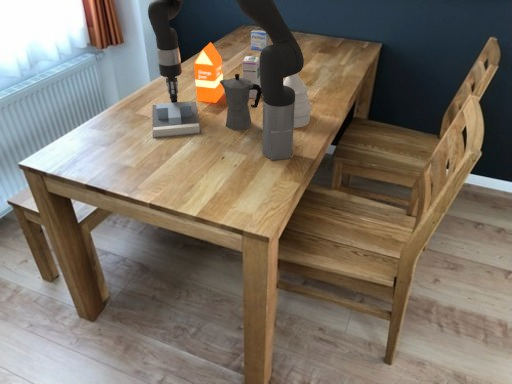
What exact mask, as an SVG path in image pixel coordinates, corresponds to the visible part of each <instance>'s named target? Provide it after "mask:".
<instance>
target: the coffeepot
mask: <svg viewBox="0 0 512 384" xmlns="http://www.w3.org/2000/svg"><path fill="white" fill-rule="evenodd" d="M219 82H220V83H221V84H222V86H223V91H224V94H225V99H226V104H227V111H226V112H227V114H226V121H225V122H226V123H225V127H226V128H228V129H230V130H233V131H243V130H247V129H249V128H250V127H252V117H251V113H250V107H251V108H252V109H257V108H258V105H259V103H260V100H261V97H262V96H263V94H262V91H261V85H260V86H259V85H258V84H254V83H251V81H250V80H247V79H245V78H243V77H240V73H234V77H232V78H228V79H224V78H223V80H221V81H219ZM250 90H257V94H256V98H254V103H253V104H250V107H249V100H250V98H249V93H250Z"/></svg>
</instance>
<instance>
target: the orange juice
mask: <svg viewBox="0 0 512 384" xmlns="http://www.w3.org/2000/svg"><path fill="white" fill-rule="evenodd" d="M222 61H223V58H222V57H221V55H220V53H219V52H218V50H217V49H216V48H215V46H214V44H213V43H212V42H209V43H208V44H207V45H206V46H204V47H203V49H202V50H201V51H200V53H199V55H198V56H197V58H196V59H195V61H194V63H193V64H194V65H193V66H194V68H193V69H194V76H195V77H194V79H195V80H194V82H195V89H196V100H197V101H198V102H205V103H214V104H216V103H217V102H218V101H219V100H220V99H221V98H222V96H223V95H224V88H223V86H222V84H221V83H220V82H219V81H221V80H224V77H223V62H222Z"/></svg>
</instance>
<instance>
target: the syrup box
mask: <svg viewBox="0 0 512 384" xmlns="http://www.w3.org/2000/svg"><path fill="white" fill-rule="evenodd" d="M259 61H260V56H256V55H255V56H254V55H246V56H245V57H244V58H243V59H242V60H241V69H242V70H241V71H242V78H245V79H247V80H250V81H251V83H254V84H258V85H259V86H260V87H261V85H260V66H259ZM256 94H257V90H250V93H249V99H256Z"/></svg>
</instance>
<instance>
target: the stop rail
mask: <svg viewBox="0 0 512 384" xmlns="http://www.w3.org/2000/svg"><path fill="white" fill-rule="evenodd" d="M200 127H201V126H200ZM200 127H199V123H195V124H184V125H173V126H162V127H153V126H152V134H153V133H154V137H159V136H170V135H181V134H191V133H200Z"/></svg>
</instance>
